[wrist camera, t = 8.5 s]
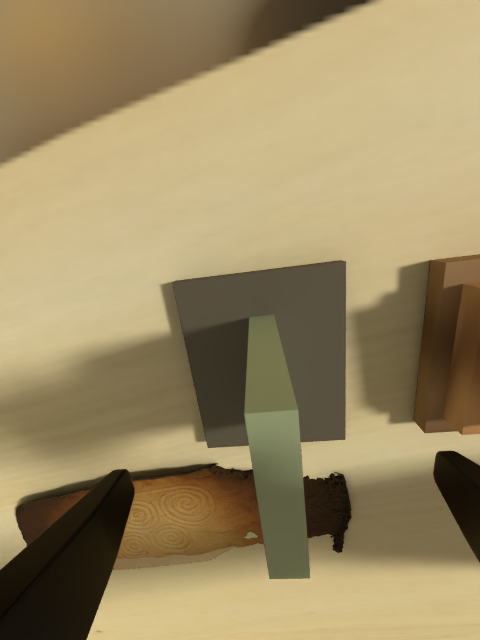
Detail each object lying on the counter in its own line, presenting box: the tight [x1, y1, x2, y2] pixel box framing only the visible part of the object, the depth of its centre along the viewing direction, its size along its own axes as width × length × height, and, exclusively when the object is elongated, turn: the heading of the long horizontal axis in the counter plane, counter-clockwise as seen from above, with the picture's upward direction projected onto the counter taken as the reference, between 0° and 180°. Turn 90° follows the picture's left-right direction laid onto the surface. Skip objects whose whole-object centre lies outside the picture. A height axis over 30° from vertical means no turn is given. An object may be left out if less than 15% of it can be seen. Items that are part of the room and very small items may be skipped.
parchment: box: [16, 463, 351, 570], centre depth 18 cm, size 25×10×1 cm, turn 103°
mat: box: [172, 260, 346, 448], centre depth 13 cm, size 10×8×1 cm
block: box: [244, 315, 310, 579], centre depth 10 cm, size 6×1×7 cm, turn 8°
